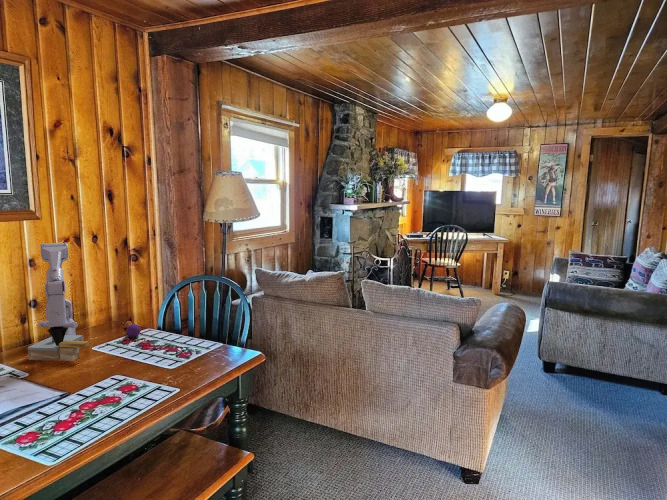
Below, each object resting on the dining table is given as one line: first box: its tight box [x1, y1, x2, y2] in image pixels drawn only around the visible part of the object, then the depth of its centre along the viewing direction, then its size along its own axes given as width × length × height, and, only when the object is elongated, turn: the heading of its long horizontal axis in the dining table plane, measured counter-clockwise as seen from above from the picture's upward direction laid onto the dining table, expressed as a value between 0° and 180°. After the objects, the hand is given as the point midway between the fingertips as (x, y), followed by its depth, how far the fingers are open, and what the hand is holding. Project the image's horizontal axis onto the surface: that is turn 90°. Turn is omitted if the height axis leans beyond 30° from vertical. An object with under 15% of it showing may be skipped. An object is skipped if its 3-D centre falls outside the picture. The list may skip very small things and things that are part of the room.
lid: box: [27, 334, 84, 351], centre depth 176 cm, size 16×12×6 cm
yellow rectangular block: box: [59, 340, 90, 349], centre depth 169 cm, size 3×10×2 cm, turn 87°
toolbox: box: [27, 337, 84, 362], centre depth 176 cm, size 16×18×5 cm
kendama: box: [124, 320, 141, 338], centre depth 203 cm, size 6×6×20 cm
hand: (59, 345), depth 169 cm, fingers closed
